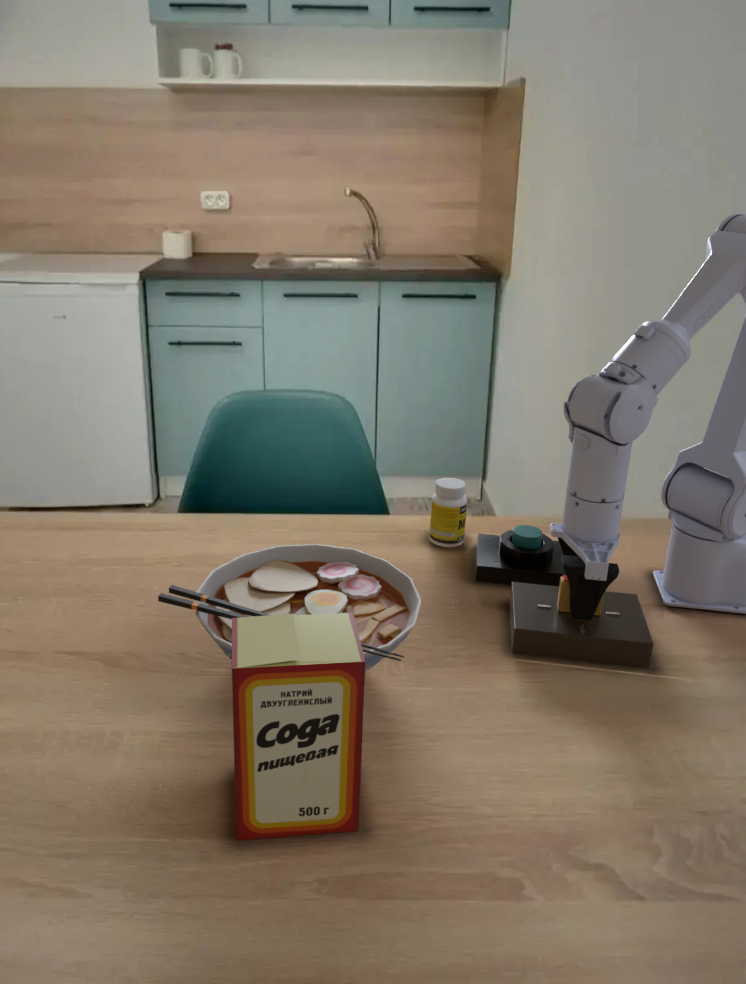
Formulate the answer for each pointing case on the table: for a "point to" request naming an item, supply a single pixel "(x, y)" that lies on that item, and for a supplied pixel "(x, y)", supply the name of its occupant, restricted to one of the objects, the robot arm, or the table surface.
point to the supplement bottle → (448, 513)
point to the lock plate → (579, 628)
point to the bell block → (517, 561)
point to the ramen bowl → (308, 593)
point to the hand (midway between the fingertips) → (578, 606)
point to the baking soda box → (297, 724)
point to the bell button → (527, 536)
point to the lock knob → (563, 597)
